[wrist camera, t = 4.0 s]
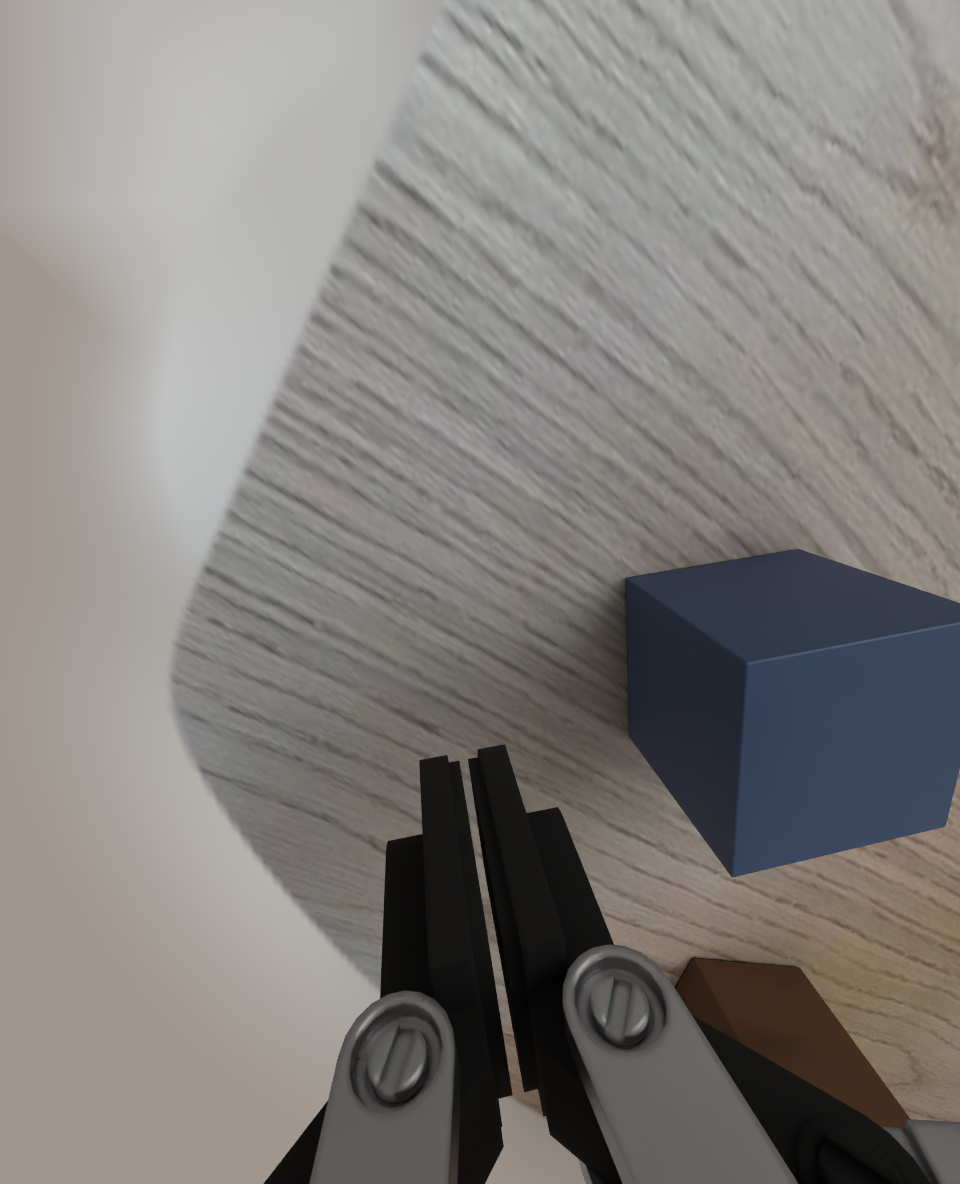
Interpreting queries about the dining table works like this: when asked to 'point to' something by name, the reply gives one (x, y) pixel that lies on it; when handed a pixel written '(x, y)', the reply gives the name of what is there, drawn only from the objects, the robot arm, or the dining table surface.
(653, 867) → the dining table surface
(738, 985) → the walnut block
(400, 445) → the dining table surface
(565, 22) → the dining table surface
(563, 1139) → the robot arm
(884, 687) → the slate block
